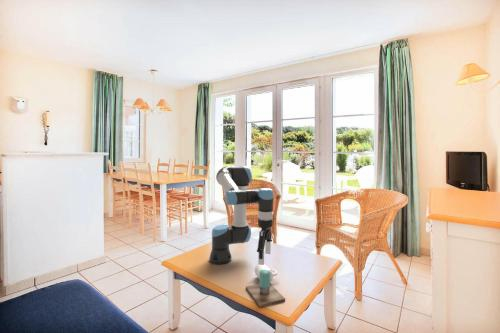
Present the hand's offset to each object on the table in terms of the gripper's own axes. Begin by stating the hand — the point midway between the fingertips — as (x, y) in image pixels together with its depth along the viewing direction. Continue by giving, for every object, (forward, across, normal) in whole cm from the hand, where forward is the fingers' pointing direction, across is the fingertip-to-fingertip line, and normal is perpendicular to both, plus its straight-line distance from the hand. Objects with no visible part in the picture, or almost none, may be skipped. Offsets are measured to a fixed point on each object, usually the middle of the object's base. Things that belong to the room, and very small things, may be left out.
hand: (264, 258), depth 131 cm
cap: (+14, -1, 0) cm, 14 cm away
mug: (+19, +15, +2) cm, 25 cm away
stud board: (+19, -1, 0) cm, 19 cm away
